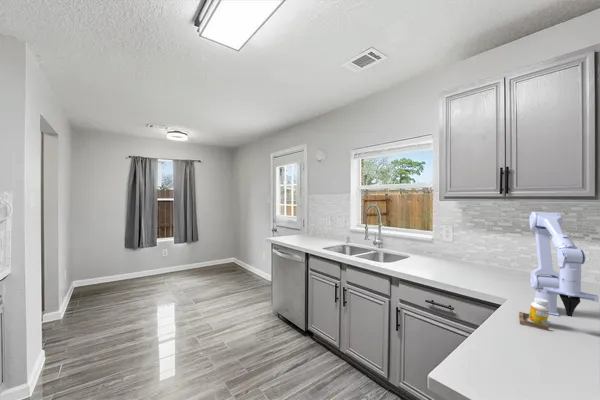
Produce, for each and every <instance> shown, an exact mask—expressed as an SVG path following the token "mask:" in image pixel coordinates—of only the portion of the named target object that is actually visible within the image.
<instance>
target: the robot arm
mask: <svg viewBox="0 0 600 400" xmlns="http://www.w3.org/2000/svg"><path fill="white" fill-rule="evenodd" d="M528 220H529V221H528V222H529V228H530V231H532V232H533V233H534V237H535V246H536V257H537V268H535V269H533V270H532V271H530V279H529V281H530V286H531V287H532V288H533V289H534V298H535V297H538V298H542V299H545V300H547V301H548V305H547V306H548V307H549V313H548V315H554V316H560V314H559V312H558V309H557V308H558V304H557V303H558V296H559V297H560V300H561V301H562V303H563V307H564V309H565V310H564V311H565V314H566V317H571V318H573V314H574V312H575V310H576V308H577V307H578V305H579V304H580V303H581V299H582V300H587V301H588V300H589V301H593V302H595V303H599V296H598V295H597V294H591V293H588V292H587V293H586V292H583V291H581V287H582V265H583V264H585V262H586V253H585V251H584V249H583V248H580V247H579V246H576V244H575V243H574V241H573V240H572V238H571V236H569V235H568V234H565V233H564V231H563V229H562V226H561V225H562V222H563V216H562V214H561V213H560V212H557V211H556V212H543V211H542V212H541V211H532V212H531V213H530V215H529V219H528ZM550 235H551V236H552V238H551V239H550ZM551 243H552V244H553V246H554V248H555V250H556V251H557V252H556V259H557V265H558V267H559V272H557V271H556V270H555V269H554V267H553V259H552V249H551Z"/></svg>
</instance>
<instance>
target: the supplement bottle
mask: <svg viewBox="0 0 600 400" xmlns="http://www.w3.org/2000/svg"><path fill="white" fill-rule="evenodd" d="M547 305H548V301H547V300H545V299H542V298H538V297H535V296H534V301H532V302H531V303H530V310H529V313H528V314H529V318H527V319H528V320H527V321H530V322H534V323H539V324H543V325H547V322H548V318H549V314H548V313H549V307H548V306H547Z"/></svg>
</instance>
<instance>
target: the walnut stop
mask: <svg viewBox="0 0 600 400" xmlns="http://www.w3.org/2000/svg"><path fill="white" fill-rule="evenodd" d="M518 315H519V316H518V318H519V319H518V320H519V325H523V326H526V327H527V326H528V327H531V328H534V329H540V330H544V331H549V325H547V324H546V325H543V324H539V323H534V322H530V321H529V320H525V319H528V318H529V313H527V312H522V311H518ZM524 318H525V319H524Z"/></svg>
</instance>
